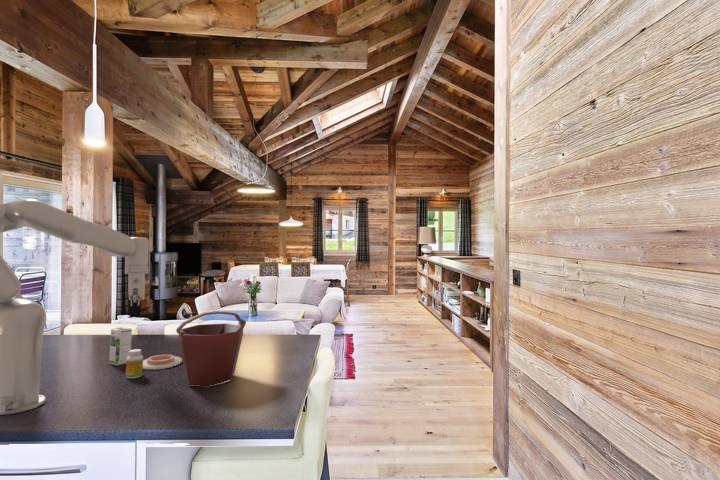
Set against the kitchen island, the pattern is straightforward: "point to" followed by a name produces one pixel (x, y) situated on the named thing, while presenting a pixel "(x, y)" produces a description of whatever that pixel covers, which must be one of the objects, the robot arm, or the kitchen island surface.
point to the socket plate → (161, 362)
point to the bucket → (210, 350)
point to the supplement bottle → (134, 364)
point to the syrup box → (120, 345)
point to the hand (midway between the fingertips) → (135, 314)
